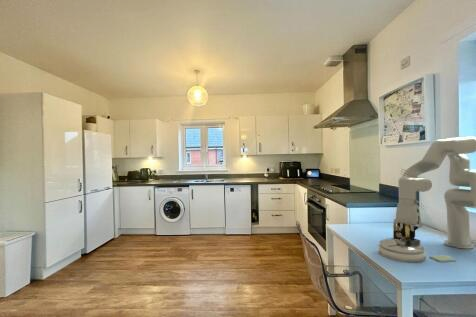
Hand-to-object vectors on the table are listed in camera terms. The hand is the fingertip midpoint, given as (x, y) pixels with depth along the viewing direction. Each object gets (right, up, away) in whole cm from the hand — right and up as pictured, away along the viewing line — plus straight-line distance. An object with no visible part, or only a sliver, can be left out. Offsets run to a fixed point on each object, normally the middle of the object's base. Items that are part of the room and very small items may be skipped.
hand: (408, 237), depth 134 cm
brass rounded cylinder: (0, -3, 0) cm, 3 cm away
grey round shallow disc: (-5, -5, -2) cm, 7 cm away
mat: (+11, -8, -9) cm, 16 cm away
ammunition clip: (+13, -9, +23) cm, 28 cm away
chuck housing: (-5, -8, -2) cm, 10 cm away
